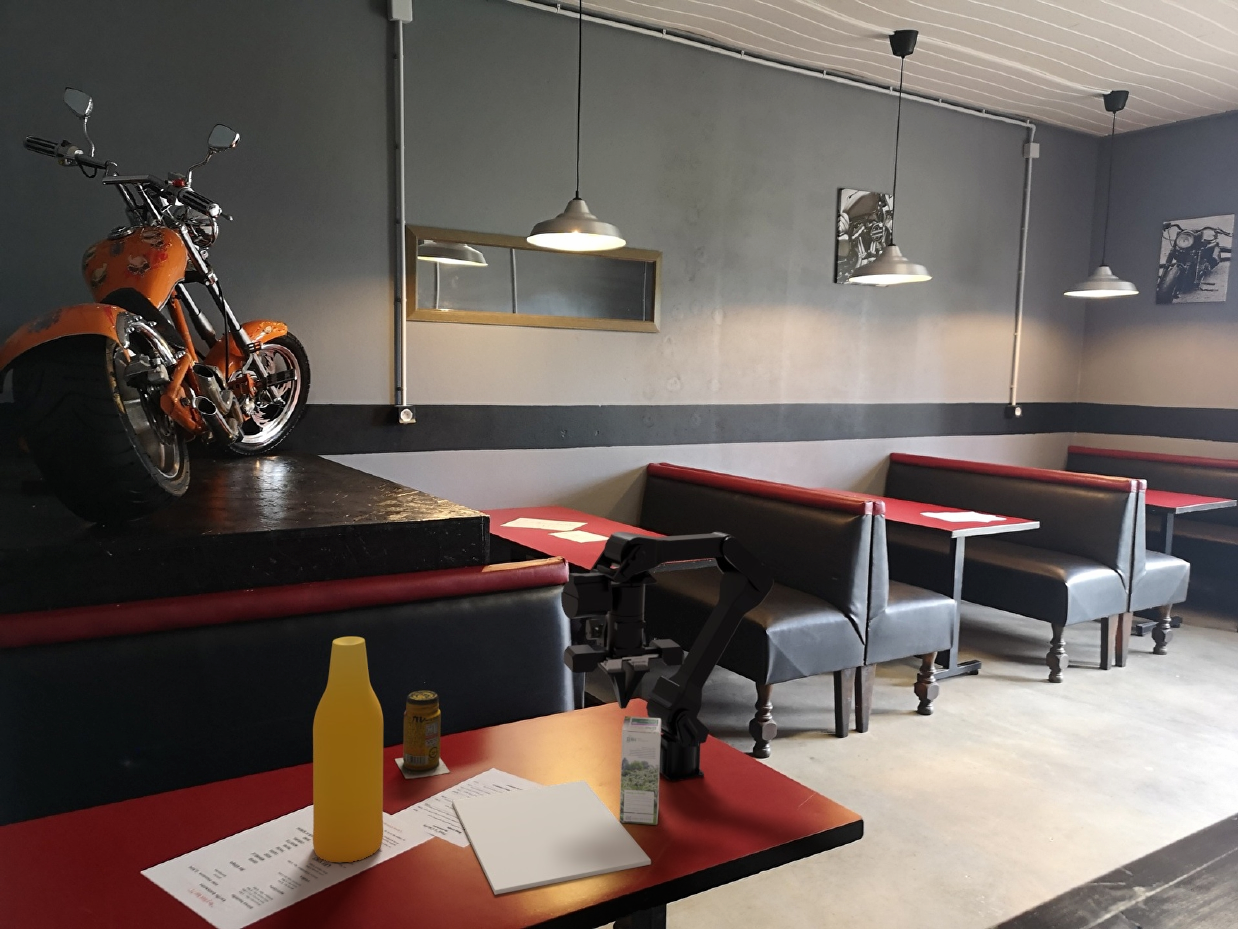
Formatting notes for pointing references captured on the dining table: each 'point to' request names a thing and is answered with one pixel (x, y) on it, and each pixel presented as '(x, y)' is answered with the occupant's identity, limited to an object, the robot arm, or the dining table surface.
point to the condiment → (422, 737)
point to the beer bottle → (348, 759)
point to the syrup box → (640, 770)
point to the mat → (546, 836)
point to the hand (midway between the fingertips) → (622, 707)
